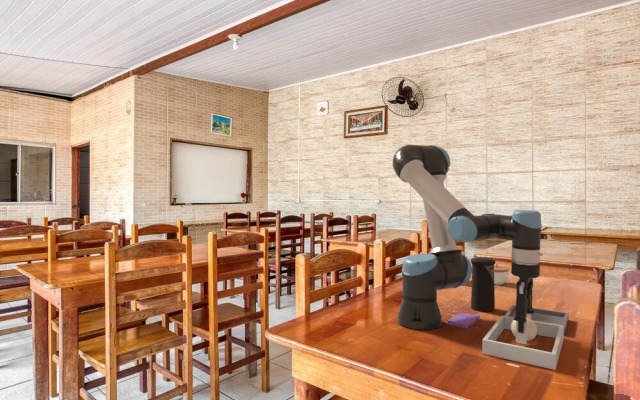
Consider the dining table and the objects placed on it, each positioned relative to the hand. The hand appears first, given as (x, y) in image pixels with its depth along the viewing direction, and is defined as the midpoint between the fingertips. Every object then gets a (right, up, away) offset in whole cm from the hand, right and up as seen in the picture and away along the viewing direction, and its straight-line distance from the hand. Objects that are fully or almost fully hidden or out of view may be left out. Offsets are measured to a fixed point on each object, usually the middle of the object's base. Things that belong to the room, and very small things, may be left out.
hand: (523, 338), depth 120 cm
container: (+2, -1, +36) cm, 36 cm away
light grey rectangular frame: (0, -2, 0) cm, 2 cm away
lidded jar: (+26, 0, +76) cm, 80 cm away
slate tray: (+15, -1, +20) cm, 25 cm away
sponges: (-10, -2, +21) cm, 24 cm away
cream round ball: (0, -1, 0) cm, 1 cm away
